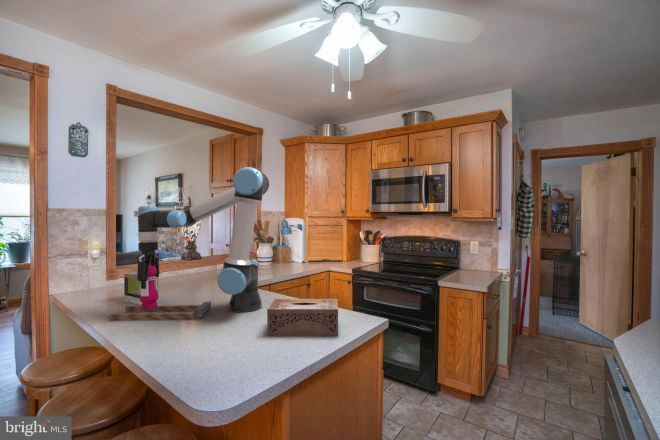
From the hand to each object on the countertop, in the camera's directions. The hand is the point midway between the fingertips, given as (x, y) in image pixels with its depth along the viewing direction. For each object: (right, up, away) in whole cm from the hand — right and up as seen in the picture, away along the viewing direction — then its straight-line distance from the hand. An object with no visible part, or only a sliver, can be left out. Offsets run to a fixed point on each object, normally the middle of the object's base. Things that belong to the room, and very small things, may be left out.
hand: (149, 293), depth 138 cm
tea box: (-17, -10, +23) cm, 31 cm away
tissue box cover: (+70, -10, -16) cm, 72 cm away
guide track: (+5, -10, 0) cm, 11 cm away
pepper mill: (0, -6, 0) cm, 6 cm away
